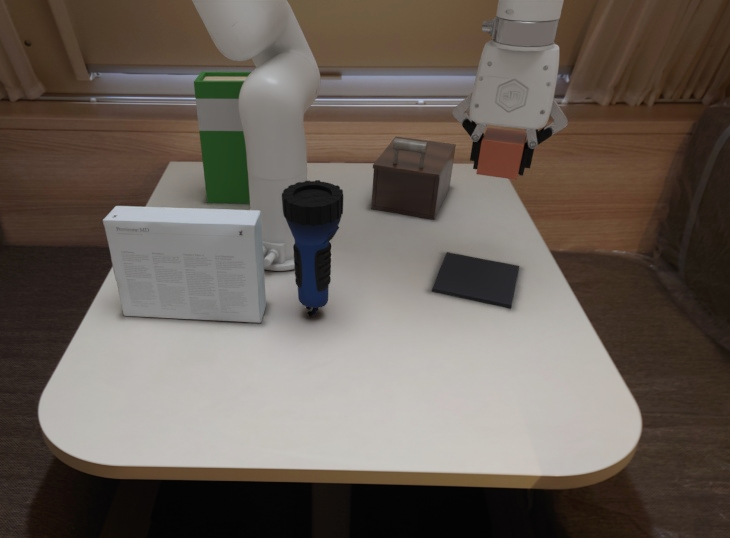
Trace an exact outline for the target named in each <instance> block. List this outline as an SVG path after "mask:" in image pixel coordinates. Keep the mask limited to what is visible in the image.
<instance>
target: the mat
mask: <svg viewBox="0 0 730 538" xmlns="http://www.w3.org/2000/svg"><path fill="white" fill-rule="evenodd" d="M440 265H441V266H440V268H439V270H438V273H437V275H436V278H435V279H434V280H435V281H434V283H433V285H432V288H431V292H433V293H439V294H442V295H446V296H452V297H457V298H461V299H467V300H471V301H475V302H479V303H485V304H490V305H494V306H499V307H503V308H507V309H508V308H509V309H511V308H512V306H513V300H514V296H515V290H516V285H517V279H518V276H519V275H518V274H519V269H520V265H518V264H512V263H507V262H501V261H496V260H492V259H491V260H490V259H485V258H481V257H474V256H470V255H466V254H465V255H464V254H459V253H453V252H449V251H446V253H445V255H444V258H443V260H442V263H441V264H440Z"/></svg>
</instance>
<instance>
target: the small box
mask: <svg viewBox="0 0 730 538" xmlns="http://www.w3.org/2000/svg"><path fill="white" fill-rule="evenodd" d="M526 141H527V135H526V131H522V130H520V131H519V130H514V129H513V130H512V129H505V128H504V129H502V128H495V127H486V129H485V131H484V137H483V139H482V142H481V148H480V154H479V160H478V166H477V169H476V175H478V176H486V177H492V178H500V179H508V180H515V181H517V180H518V177H519V174H518V173H519V168H520V163H521V158H522V153H523V149H524V145H525V142H526Z"/></svg>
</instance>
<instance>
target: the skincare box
mask: <svg viewBox="0 0 730 538" xmlns="http://www.w3.org/2000/svg"><path fill="white" fill-rule="evenodd" d="M102 223H103V226H104V231H105V236H106V240H107V244H108V249H109V253H110V260H111V265H112V271H113V274H114V279H115V281H116V286H117V291H118V295H119V300H120V304H121V309H122V311H121V312H122V315H123V316H125V317H143V318H160V319H161V318H162V319H163V318H164V319H179V320H204V321H220V322H221V321H223V322H242V323H257V324H259V323H262V320H263V317H264V314H265V312H266V307H267V301H266V300H267V299H266V298H267V295H266V280H265V279H266V278H265V269H264V261H263V244H262V226H261V211H259V210H250V209H227V208H197V207H169V206H168V207H167V206H165V207H163V206H136V205H135V206H134V205H132V206H131V205H115V206H114V207H113V208H112V210H110V212H108V214H107V215H106V216H105V217H104V218H103V219H102Z"/></svg>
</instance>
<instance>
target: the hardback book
mask: <svg viewBox="0 0 730 538" xmlns="http://www.w3.org/2000/svg"><path fill="white" fill-rule="evenodd" d="M251 72H252V71H217V70H216V71H209V70H208V71H204V70H203V71H201V72H200V73H199V74H198V76H197V77H195V79H194V81H193V89H194V96H195V97H194V98H195V106H196V114H197V124H198V132H199V141H200V150H201V159H202V168H203V177H204V184H205V193H206V194H205V195H206V202H207V204H250V196H249V181H248V169H247V155H246V145H245V138H244V133H243V128H242V124H241V119H240V114H239V106H238V102H239V94H240V90H241V87H242V85H243V83H244V81H245V79H246V78H247V77H248V75H249V74H250V73H251Z"/></svg>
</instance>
